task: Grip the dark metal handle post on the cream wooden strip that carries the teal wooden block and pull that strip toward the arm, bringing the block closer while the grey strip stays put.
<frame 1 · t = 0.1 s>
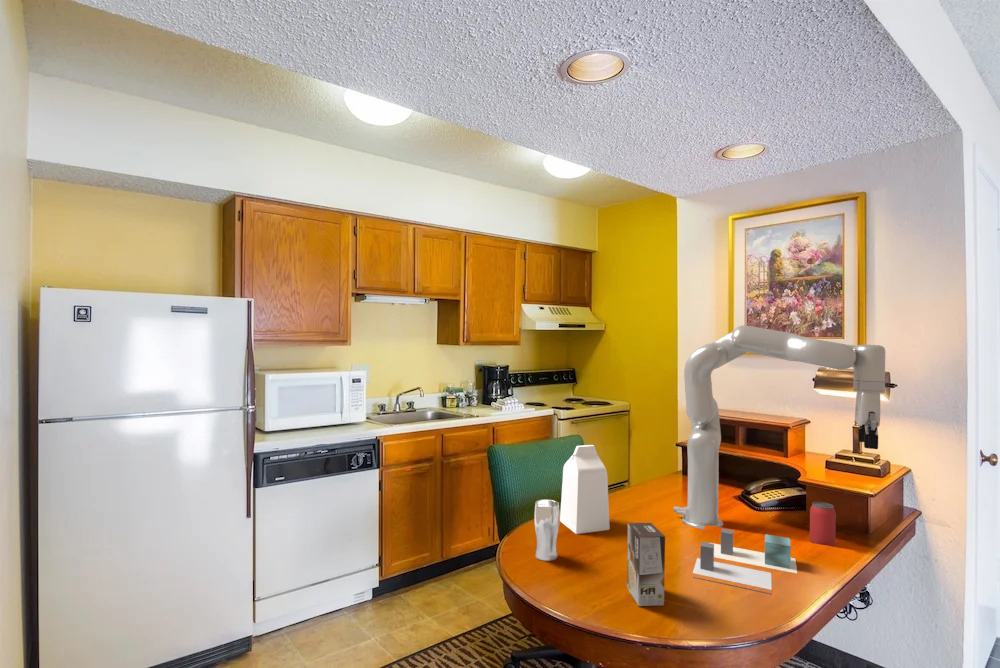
hand: (867, 445, 151), 31 cm above the table, tool pointing down, fingers open, 9 cm apart
block: (777, 562, 140), point 1 cm above the table, touching loaded strip
milk: (584, 525, 169), on the table
empty strip: (732, 563, 133), point 4 cm above the table, slide at 0.0 cm
beer glass: (546, 557, 145), on the table
beer can: (822, 544, 156), on the table
coffee box: (644, 597, 123), on the table
loaded strip: (750, 548, 143), point 4 cm above the table, slide at 0.0 cm, touching block
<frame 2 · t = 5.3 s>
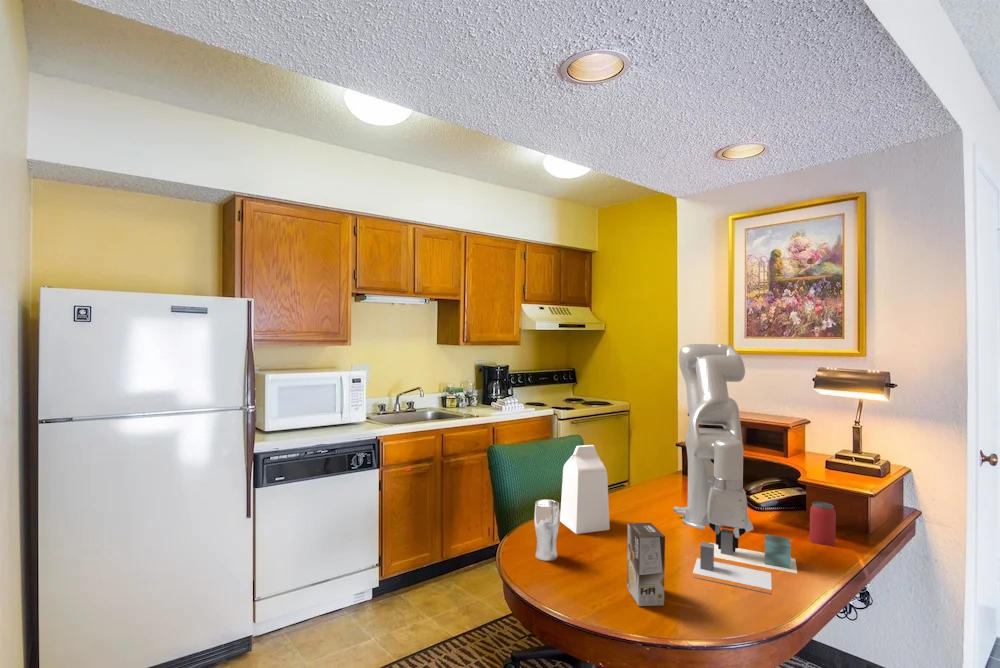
hand: (726, 548, 146), 3 cm above the table, tool pointing down, fingers closed on loaded strip, 3 cm apart
loaded strip: (750, 548, 143), point 4 cm above the table, slide at 0.0 cm, touching block, gripper
everything else where it was.
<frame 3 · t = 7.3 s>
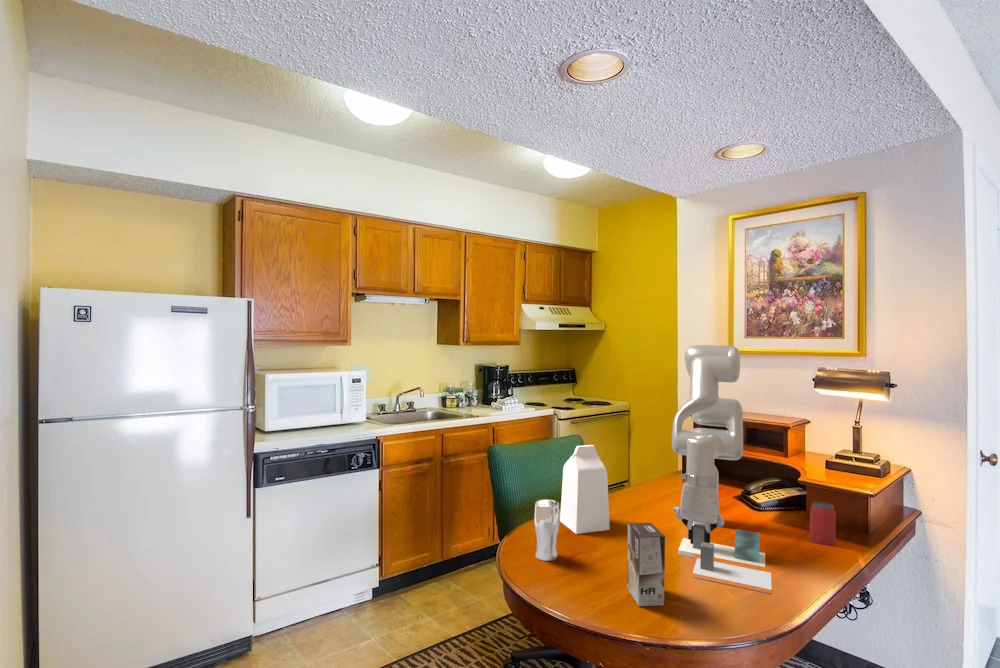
hand: (699, 543, 149), 3 cm above the table, tool pointing down, fingers closed on loaded strip, 3 cm apart
block: (747, 556, 143), point 1 cm above the table, touching loaded strip
loaded strip: (721, 543, 146), point 4 cm above the table, slide at 7.4 cm, touching block, gripper
everything else where it was.
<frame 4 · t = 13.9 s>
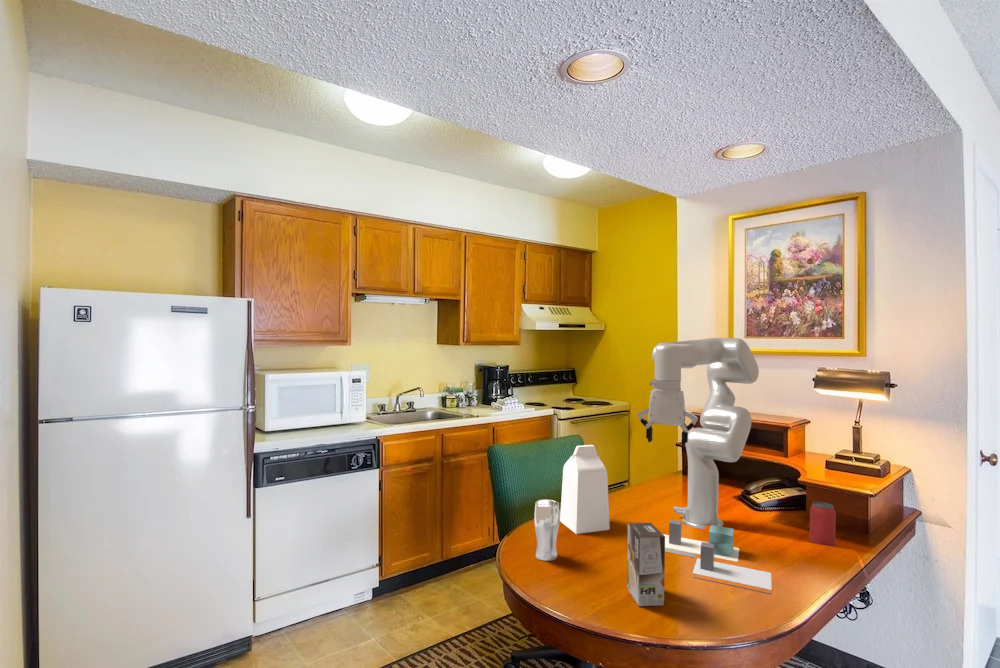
hand: (666, 443, 154), 30 cm above the table, tool pointing down, fingers open, 9 cm apart
block: (721, 551, 146), point 1 cm above the table, touching loaded strip
loaded strip: (696, 538, 149), point 4 cm above the table, slide at 14.0 cm, touching block
everything else where it was.
at the end: block inside the target area (0.0 cm from its centre), point 1.5 cm above the table; loaded strip slide at 14.0 cm; block tilted 0° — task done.
